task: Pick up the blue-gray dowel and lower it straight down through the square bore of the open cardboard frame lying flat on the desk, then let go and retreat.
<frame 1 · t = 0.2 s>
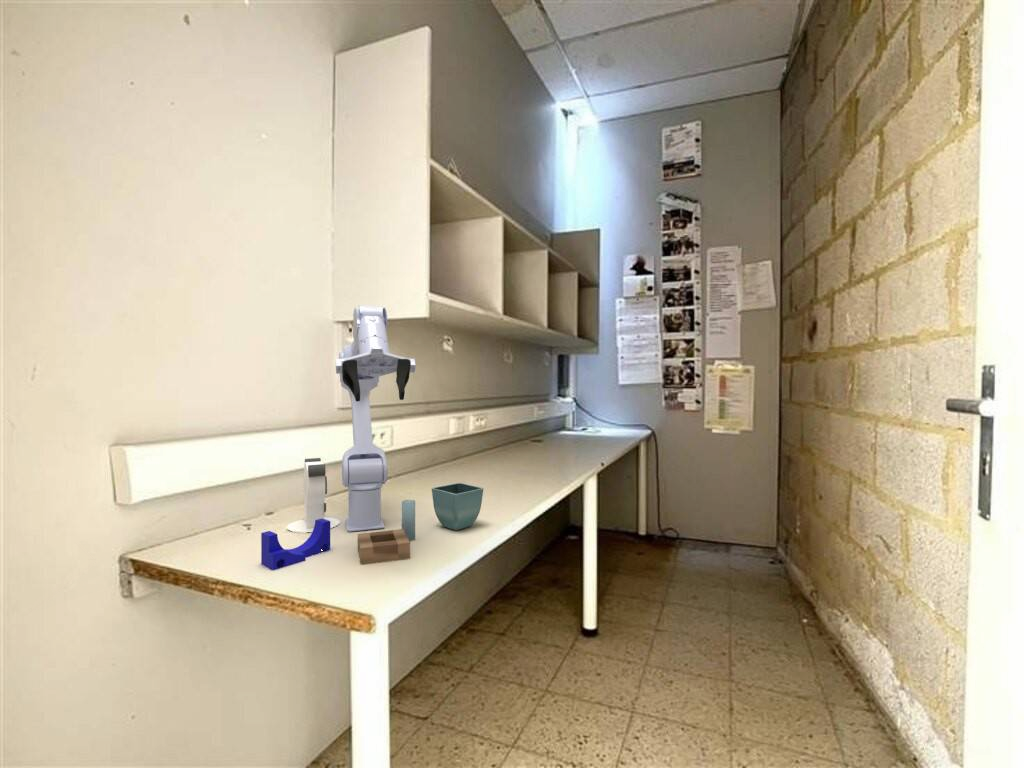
hand: (380, 396, 87), 31 cm above the table, tool tilted 45°, fingers open, 7 cm apart
blue-gray dowel: (408, 539, 104), on the table
white tower device: (314, 526, 113), on the table
open cardboard frame: (383, 553, 95), on the table
blue cradle bracket: (299, 560, 93), on the table
flower pot: (457, 527, 113), on the table
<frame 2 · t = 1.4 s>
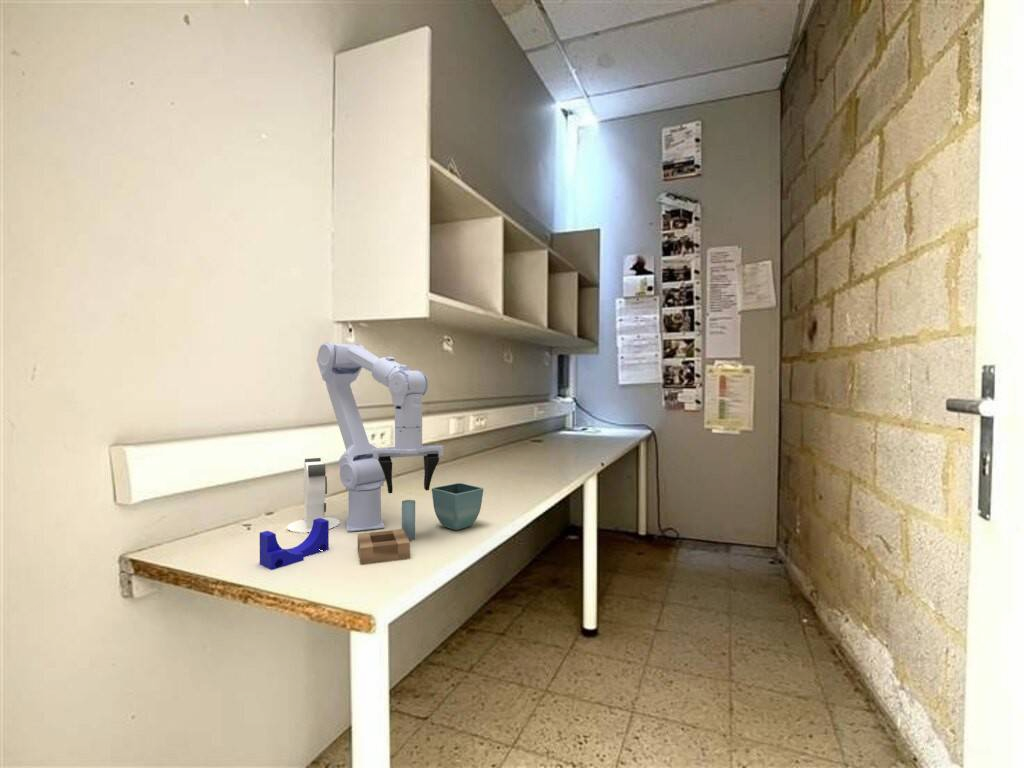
hand: (408, 490, 104), 10 cm above the table, tool pointing down, fingers open, 7 cm apart
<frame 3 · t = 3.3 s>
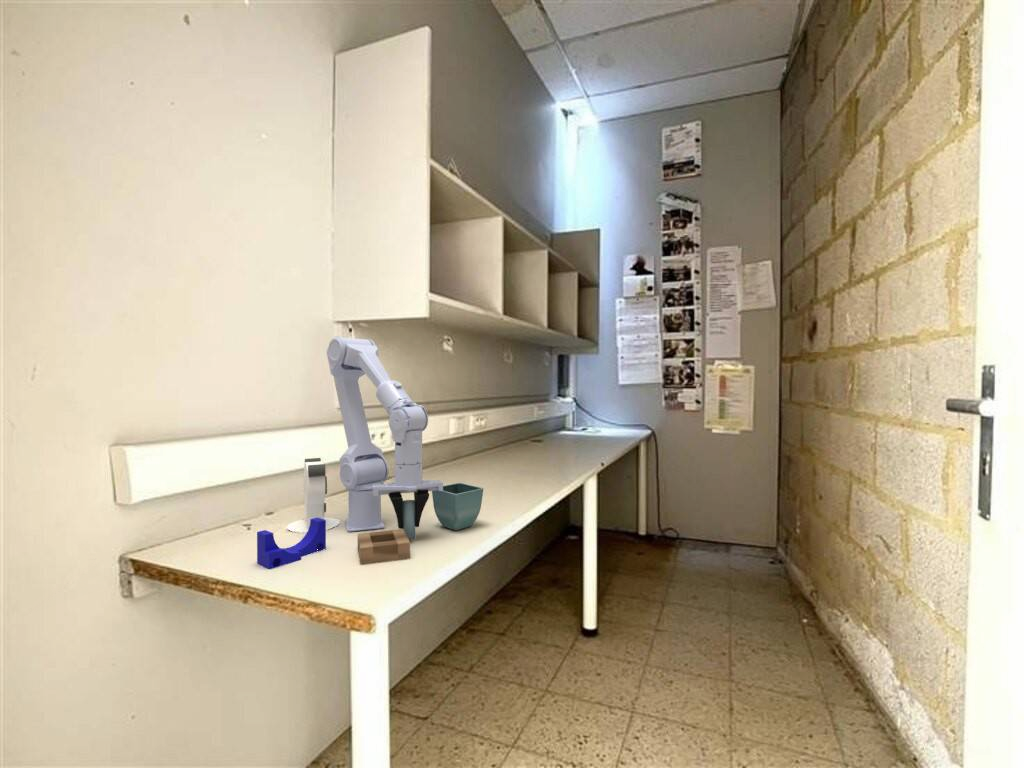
hand: (408, 526, 104), 3 cm above the table, tool pointing down, fingers closed on blue-gray dowel, 3 cm apart
blue-gray dowel: (408, 539, 104), on the table, touching gripper
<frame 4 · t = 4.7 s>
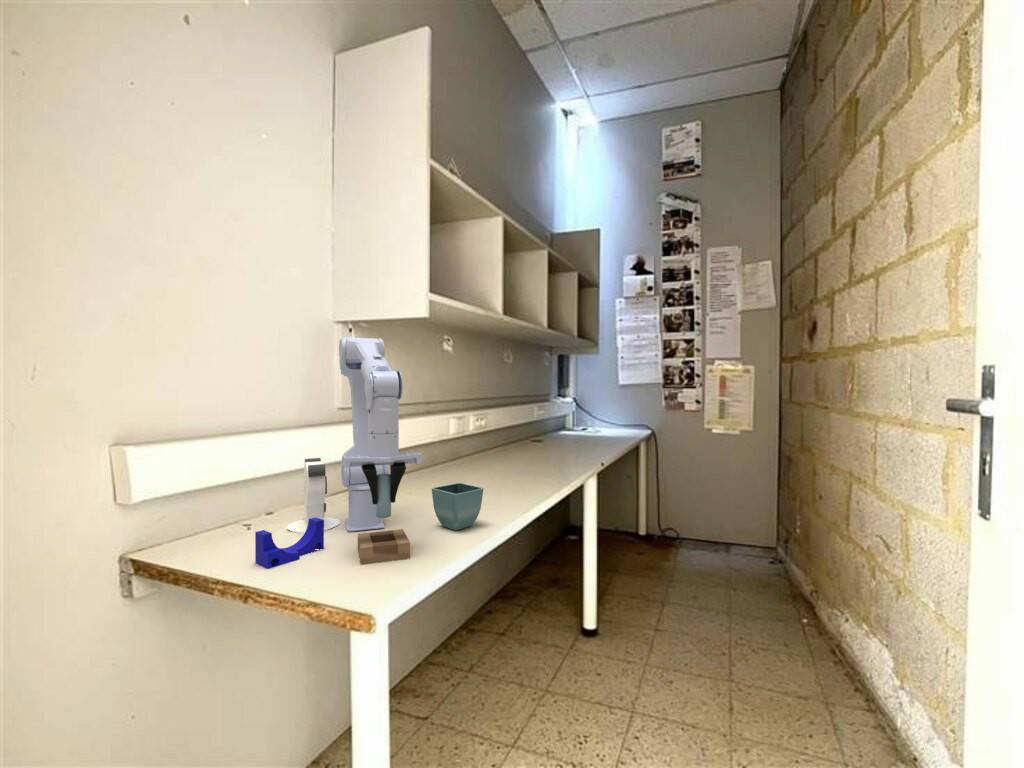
hand: (383, 502, 95), 10 cm above the table, tool pointing down, fingers closed on blue-gray dowel, 3 cm apart
blue-gray dowel: (383, 516, 95), point 7 cm above the table, touching gripper
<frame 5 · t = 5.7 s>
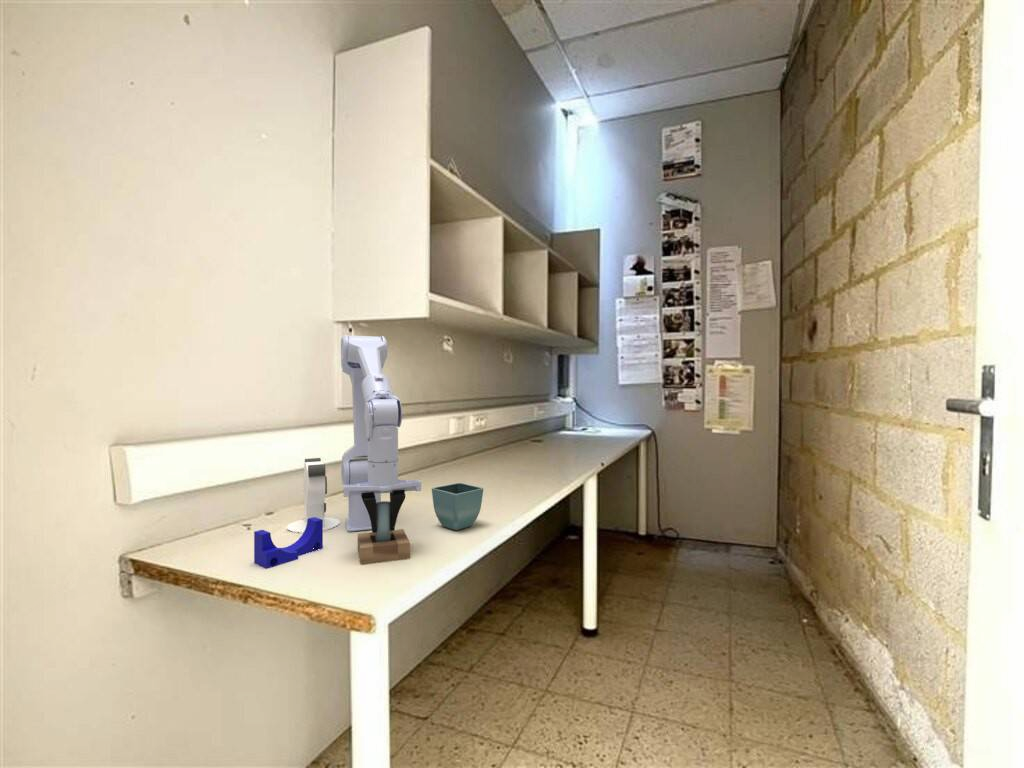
hand: (383, 530, 95), 5 cm above the table, tool pointing down, fingers closed on blue-gray dowel, 3 cm apart
blue-gray dowel: (383, 544, 95), point 2 cm above the table, touching gripper
when the fingers open (4 cm above the table, at t = 6.5 s): blue-gray dowel drops 1 cm, resting in open cardboard frame.
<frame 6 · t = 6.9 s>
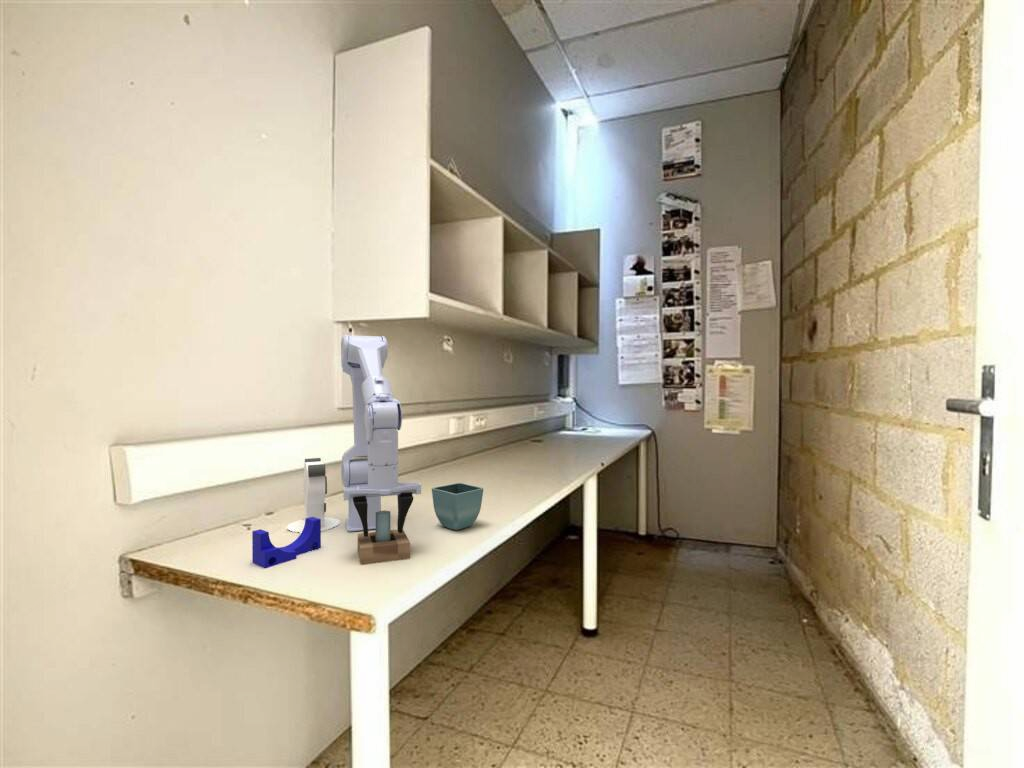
hand: (383, 533, 95), 4 cm above the table, tool pointing down, fingers open, 6 cm apart
blue-gray dowel: (383, 553, 95), resting in open cardboard frame
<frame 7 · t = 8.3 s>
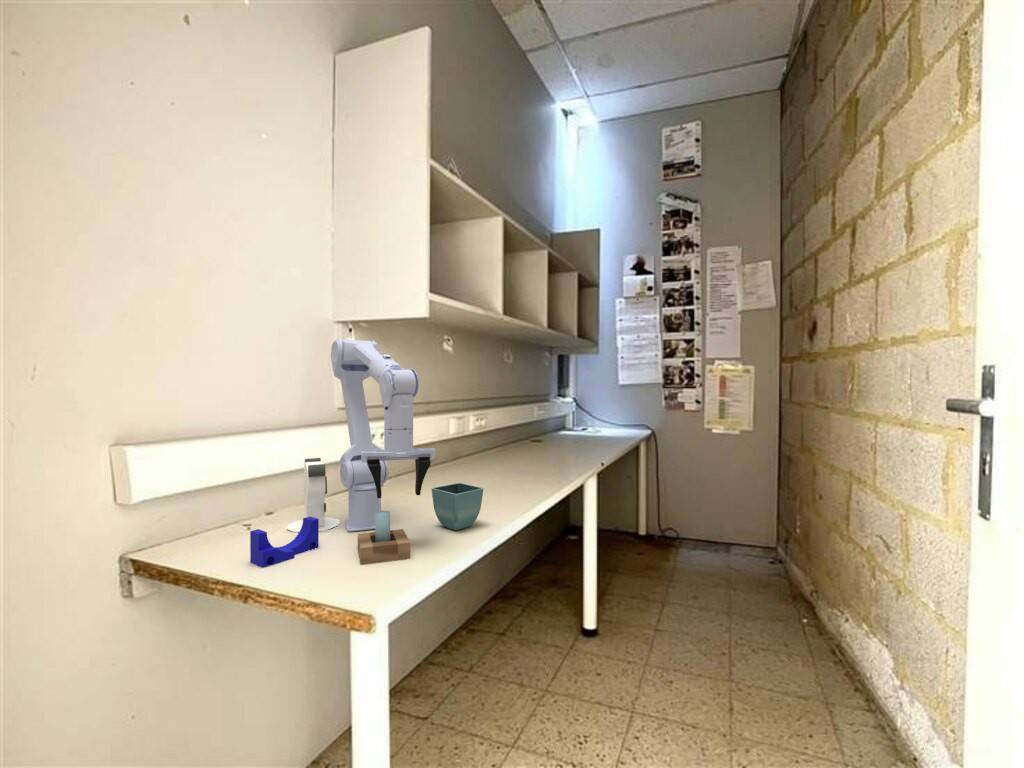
hand: (398, 495, 99), 10 cm above the table, tool pointing down, fingers open, 7 cm apart
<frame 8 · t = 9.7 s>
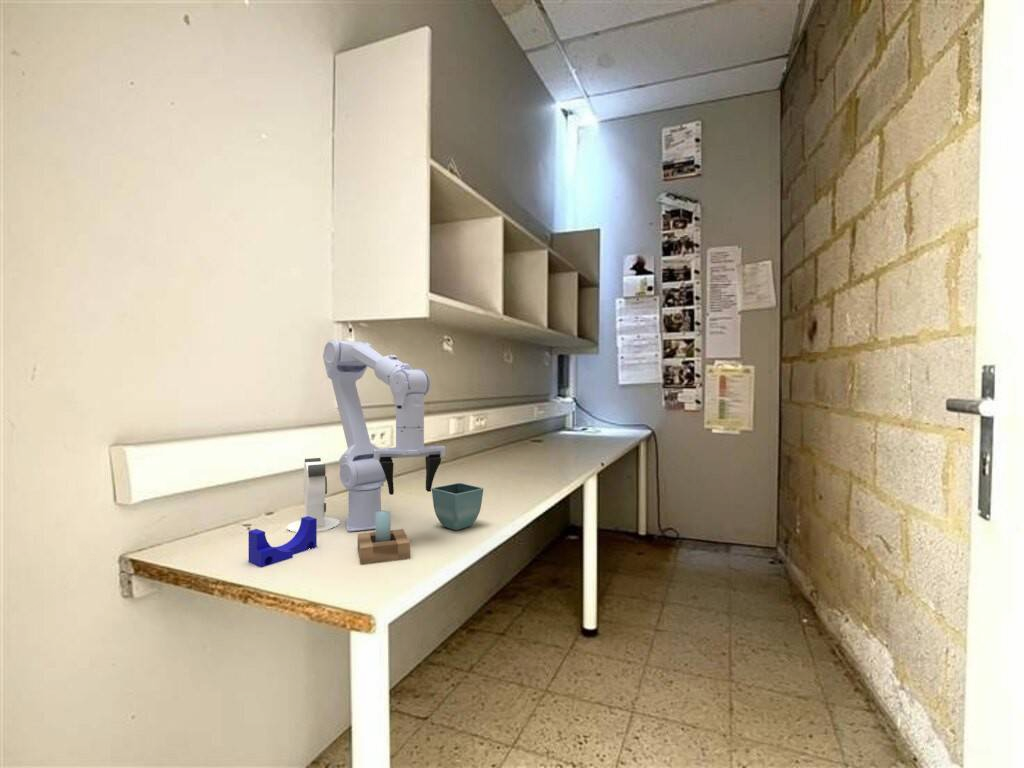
hand: (410, 492, 102), 10 cm above the table, tool pointing down, fingers open, 7 cm apart
at the end: blue-gray dowel 0.0 cm off-centre on the open cardboard frame, point 0.0 cm above the open cardboard frame's base; blue-gray dowel tilted 0° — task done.
